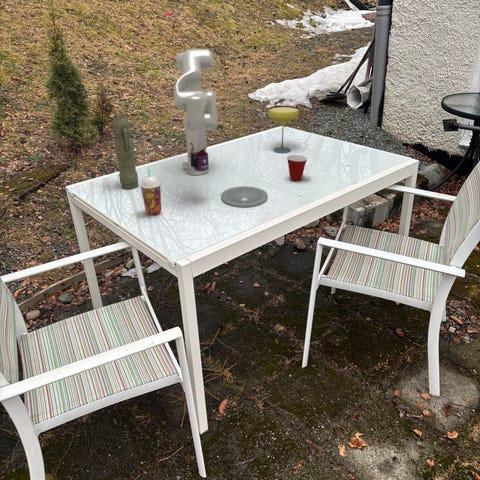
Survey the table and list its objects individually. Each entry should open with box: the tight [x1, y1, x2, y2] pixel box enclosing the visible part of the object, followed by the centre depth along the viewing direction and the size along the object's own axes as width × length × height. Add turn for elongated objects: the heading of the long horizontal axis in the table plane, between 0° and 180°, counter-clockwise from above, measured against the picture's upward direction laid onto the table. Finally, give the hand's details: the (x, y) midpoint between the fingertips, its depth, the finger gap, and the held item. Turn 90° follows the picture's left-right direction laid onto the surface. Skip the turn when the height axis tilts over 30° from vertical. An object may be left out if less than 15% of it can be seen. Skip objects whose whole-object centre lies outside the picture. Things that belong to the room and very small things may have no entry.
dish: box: [220, 185, 269, 209], centre depth 207 cm, size 22×22×1 cm
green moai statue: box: [112, 114, 140, 191], centre depth 213 cm, size 9×12×35 cm
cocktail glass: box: [267, 105, 300, 154], centre depth 263 cm, size 18×18×25 cm
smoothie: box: [140, 169, 162, 216], centre depth 190 cm, size 8×8×20 cm
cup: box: [193, 151, 210, 171], centre depth 198 cm, size 7×10×7 cm
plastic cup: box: [286, 154, 309, 182], centre depth 225 cm, size 11×11×12 cm
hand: (198, 163), depth 198 cm, fingers closed on cup, 6 cm apart
